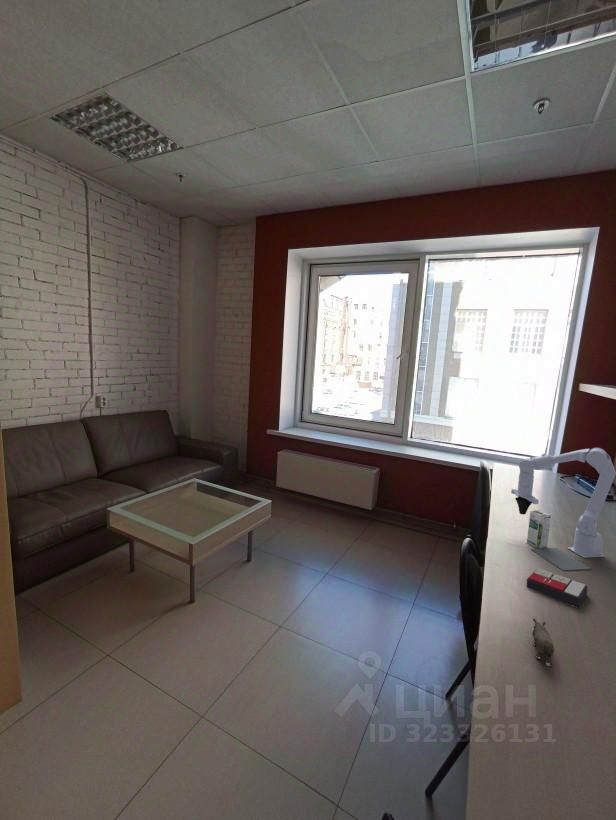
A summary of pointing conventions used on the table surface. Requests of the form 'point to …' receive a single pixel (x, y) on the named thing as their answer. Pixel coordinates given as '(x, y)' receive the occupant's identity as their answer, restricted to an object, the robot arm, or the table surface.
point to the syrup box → (538, 529)
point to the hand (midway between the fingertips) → (522, 513)
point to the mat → (561, 559)
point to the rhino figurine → (542, 640)
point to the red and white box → (558, 587)
